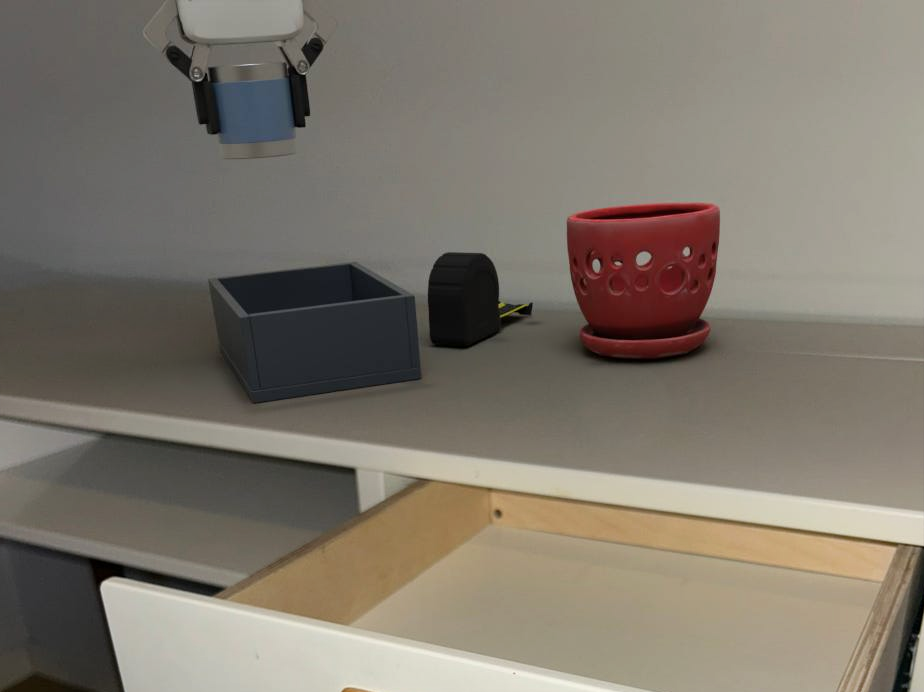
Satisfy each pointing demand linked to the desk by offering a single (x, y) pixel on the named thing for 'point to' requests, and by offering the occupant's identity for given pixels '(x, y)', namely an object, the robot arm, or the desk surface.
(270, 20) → the robot arm
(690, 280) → the flower pot
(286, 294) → the dark blue open box
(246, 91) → the can
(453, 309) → the tape measure
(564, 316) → the desk surface
